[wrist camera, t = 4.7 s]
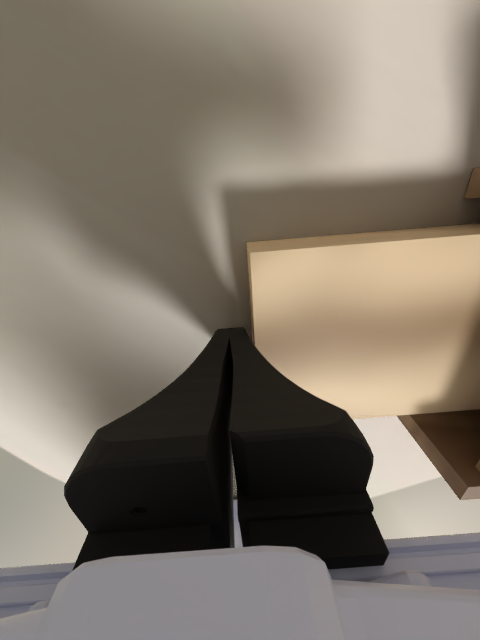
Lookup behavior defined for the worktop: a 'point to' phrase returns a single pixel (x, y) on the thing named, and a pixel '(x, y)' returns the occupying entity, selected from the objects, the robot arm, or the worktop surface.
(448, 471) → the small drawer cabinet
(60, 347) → the worktop surface
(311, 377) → the board
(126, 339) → the worktop surface
